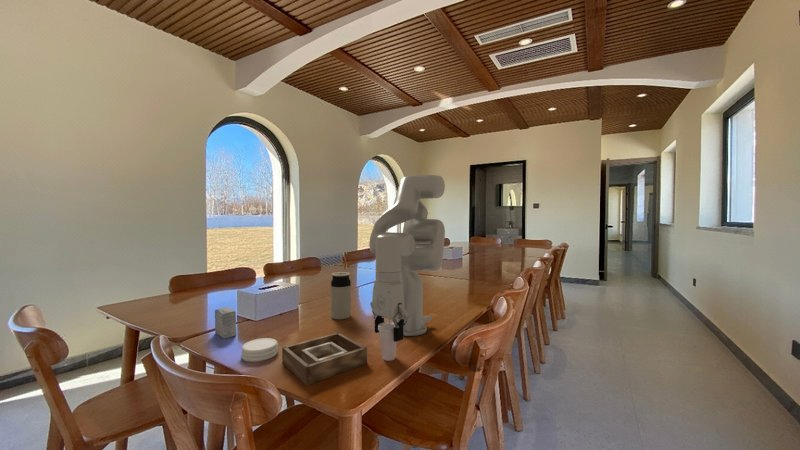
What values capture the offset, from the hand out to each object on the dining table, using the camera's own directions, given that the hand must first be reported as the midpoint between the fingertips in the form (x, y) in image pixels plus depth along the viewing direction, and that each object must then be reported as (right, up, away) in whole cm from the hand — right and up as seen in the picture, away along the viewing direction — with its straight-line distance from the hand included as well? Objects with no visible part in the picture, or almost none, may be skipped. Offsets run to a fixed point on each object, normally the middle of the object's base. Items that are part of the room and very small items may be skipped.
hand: (388, 335), depth 95 cm
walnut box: (-18, -7, -3) cm, 19 cm away
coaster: (-39, -7, +3) cm, 40 cm away
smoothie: (0, -7, 0) cm, 7 cm away
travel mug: (-21, -6, +39) cm, 44 cm away
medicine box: (-58, -6, +19) cm, 61 cm away
